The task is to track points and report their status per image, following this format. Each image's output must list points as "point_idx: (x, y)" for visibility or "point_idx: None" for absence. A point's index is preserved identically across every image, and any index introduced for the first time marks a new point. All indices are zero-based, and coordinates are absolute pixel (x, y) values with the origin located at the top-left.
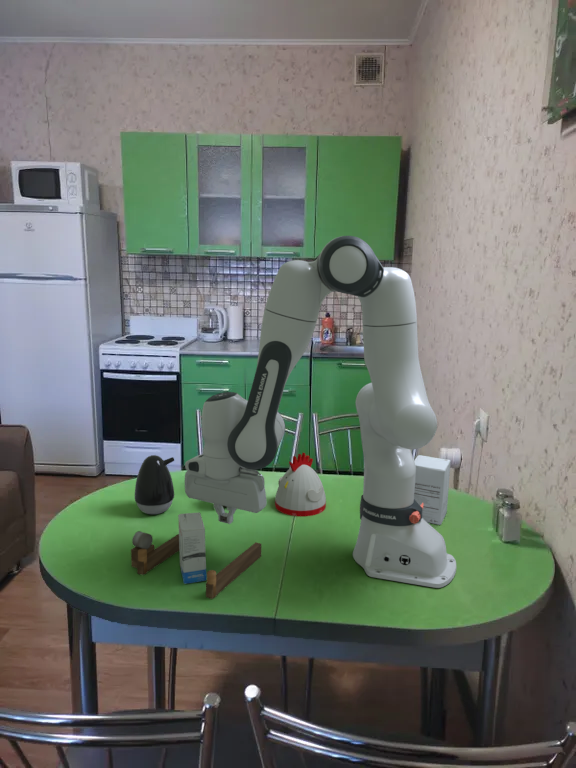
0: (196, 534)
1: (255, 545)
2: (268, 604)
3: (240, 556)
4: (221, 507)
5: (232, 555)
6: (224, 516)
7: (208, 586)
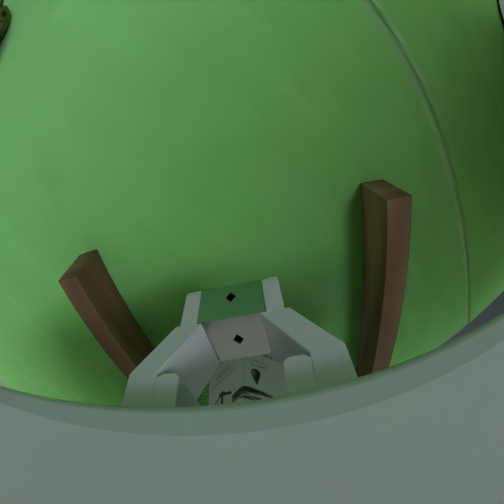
0: None
1: (399, 223)
2: (457, 313)
3: (387, 308)
4: (178, 369)
5: (295, 244)
6: (254, 355)
7: None
